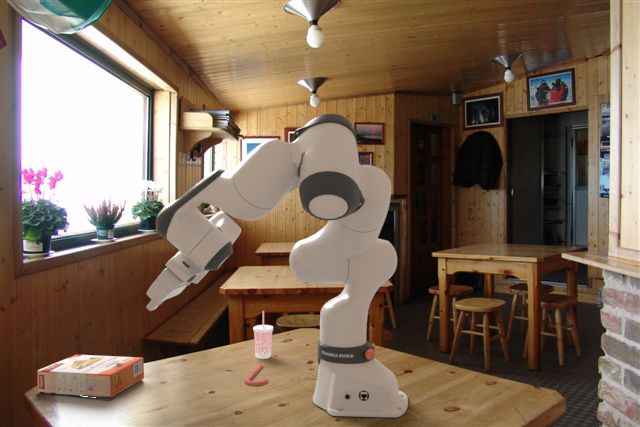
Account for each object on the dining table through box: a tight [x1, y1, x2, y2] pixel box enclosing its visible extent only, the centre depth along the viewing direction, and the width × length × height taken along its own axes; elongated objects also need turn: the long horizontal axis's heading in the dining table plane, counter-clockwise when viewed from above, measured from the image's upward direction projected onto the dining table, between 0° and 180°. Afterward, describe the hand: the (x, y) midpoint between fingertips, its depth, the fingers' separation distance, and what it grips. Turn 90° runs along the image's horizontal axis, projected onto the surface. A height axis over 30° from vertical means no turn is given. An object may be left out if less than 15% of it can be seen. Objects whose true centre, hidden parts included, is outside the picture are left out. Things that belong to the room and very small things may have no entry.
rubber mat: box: [88, 379, 144, 401], centre depth 126 cm, size 9×13×1 cm
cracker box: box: [36, 354, 145, 397], centre depth 127 cm, size 14×6×21 cm
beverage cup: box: [252, 310, 274, 360], centre depth 153 cm, size 6×6×14 cm
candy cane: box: [244, 363, 269, 387], centre depth 136 cm, size 6×15×2 cm, turn 170°
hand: (149, 308), depth 123 cm, fingers closed
